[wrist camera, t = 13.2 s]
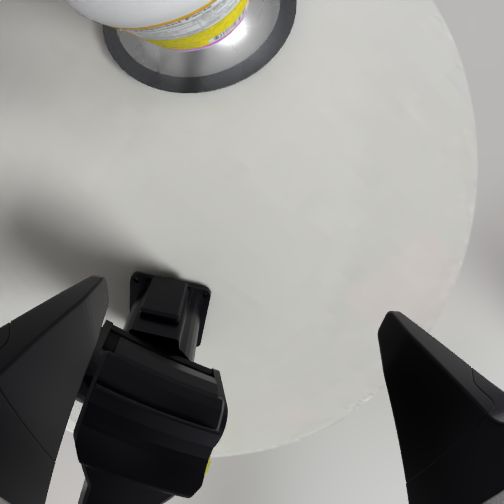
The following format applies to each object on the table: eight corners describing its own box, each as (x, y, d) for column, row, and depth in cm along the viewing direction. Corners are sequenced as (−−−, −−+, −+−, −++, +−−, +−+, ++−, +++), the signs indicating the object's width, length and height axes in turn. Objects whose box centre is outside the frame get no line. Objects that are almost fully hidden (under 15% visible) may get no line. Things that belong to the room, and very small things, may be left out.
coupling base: (267, 110, 18) (268, 112, 17) (92, 83, 17) (83, 83, 16) (312, -44, 13) (316, -52, 12) (137, -65, 11) (131, -72, 10)
